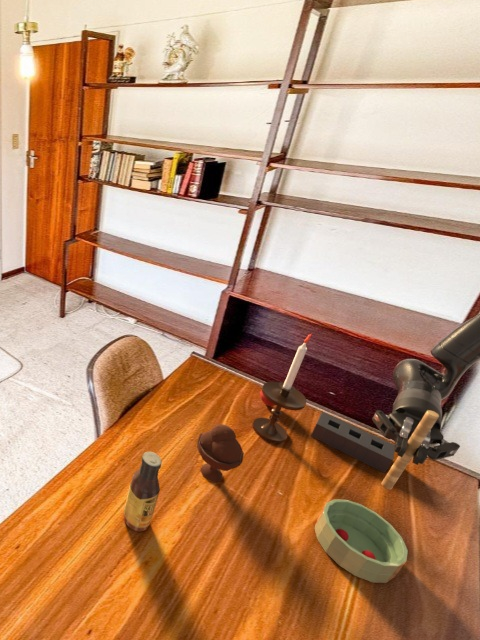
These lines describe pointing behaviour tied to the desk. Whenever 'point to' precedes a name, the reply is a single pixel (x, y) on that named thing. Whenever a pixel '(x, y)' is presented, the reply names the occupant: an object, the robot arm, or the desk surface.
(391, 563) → the bowl
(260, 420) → the candlestick
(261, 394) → the onion
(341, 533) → the berry
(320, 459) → the desk surface
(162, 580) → the desk surface
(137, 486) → the sauce bottle
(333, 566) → the desk surface
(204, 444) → the ice cream bowl
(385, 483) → the stirring stick
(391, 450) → the stand
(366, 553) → the berry
